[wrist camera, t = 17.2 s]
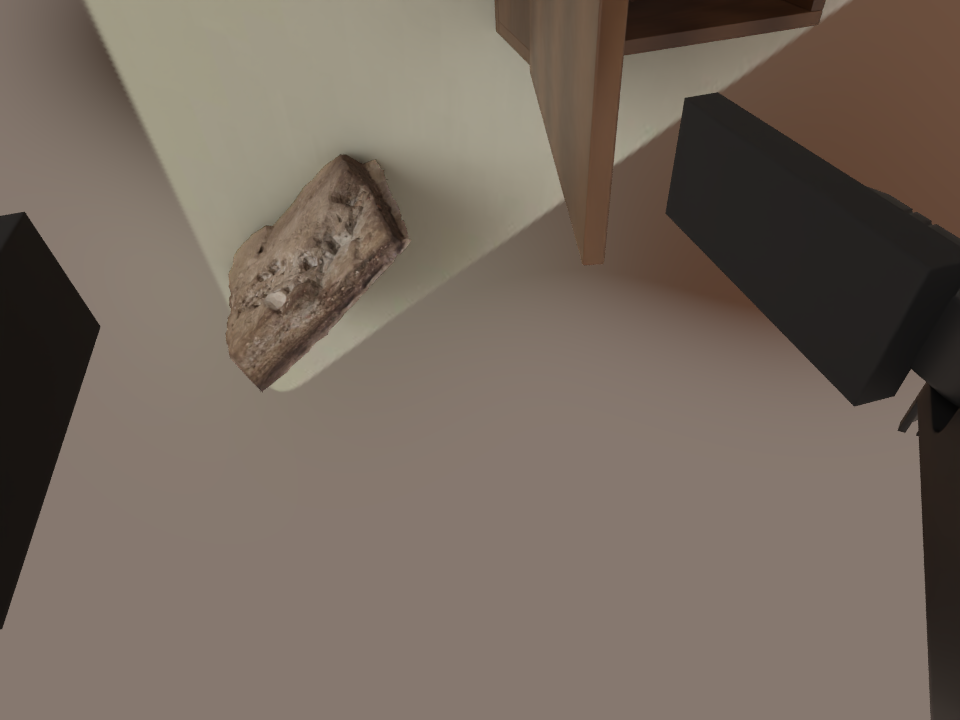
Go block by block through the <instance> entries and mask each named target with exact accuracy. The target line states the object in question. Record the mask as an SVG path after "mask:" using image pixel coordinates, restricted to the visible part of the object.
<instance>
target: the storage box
mask: <svg viewBox="0 0 960 720" xmlns="http://www.w3.org/2000/svg"><path fill="white" fill-rule="evenodd" d="M825 1H826V0H629V4H628V15H627V25H626V36H625V46H624V55H630V54H637V53H643V52H649V51H656V50H662V49H668V48H675V47H681V46H687V45H694V44H700V43H706V42H713V41H719V40H726V39H732V38H738V37H745V36H751V35H757V34H764V33H770V32H776V31H783V30H789V29H795V28H802V27H808V26H814V25H818V24H819V21H820V17H821V14H822V10H823V8H824V4H825ZM495 18H496V32H497V33H498V34H500V36H501V37H502V38H503V39H504V40H505V41H506V42H507V43H508V44H509V45H510V46H511V47H512V48H513V49H514V50H515V51H516V52H517V53H518V54H519V55H520V56H521V57H522V58H523V59H524V60H525V61H526V62H527V63H528V64H529V65H530V0H495Z"/></svg>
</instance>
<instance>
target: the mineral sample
mask: <svg viewBox="0 0 960 720" xmlns="http://www.w3.org/2000/svg"><path fill="white" fill-rule="evenodd" d="M386 180H388V179H385V176H384V170H382V169H380V165H378V164H377V162H376V159H375V160H372V161H369V162H367V163H364V164H362V163H360V162H358V161H356V160H354V159H352V158H351V157H349V156H347V155H343V154H340V155H339V156H338V157H336V158H335V159H334V160H332V161H331V162H329V163H328V164H326V165H325V166H324V167H323V168H322V169H321V170H320V171H319V173H318V174H317V175H316V176H315V178H314V179H313V180H312V181H311V182H309V183H308V184H307V185H306V186H304V188H303V189H302V191H301V192H300V194H299V195H298V197H297V198H296V200H295V201H294V203H293V204H292V205H291V206H290V207H289V208H288V209H287V211H286V212H285V213H284V214H283V215H282V216H281V217H280V218H279V219H278V221H277V222H276V223H275V224H274V226H264V227H263V228H262V229H260V230H259V231H257V232H255V233H253V234H252V235H251V237H250V238H249V239H248V240H247V241H246V242H245V243H244V244H243V245H242V246H241V247H240V248H239V249H238V251H237V252H236V254H235V256H234V261H233V267H232V269H231V270H230V272H229V288H230V291H231V296H230V297H229V302H230V303H229V306H230V308H231V314H230V315H229V317H228V322H227V328H228V330H227V332H226V342H227V344H228V348H229V355H230V358H231V359H232V361H233V362H234V363H235V364H236V365H237V366H238V367H239V368H240V369H241V370H242V371H243V372H244V374H245V375H246V376H247V377H248V378H249V379H250V380H251V381H252V382H253V383H254V384H255V385H256V386H257V387H258V388H259V389H260V390H261V391H262V392H263V390H264V389H266V388H267V387H269V386H270V385H271V384H273V383H274V382H275V381H276V380H277V379H278V378H280V377H281V376H282V375H284V374H285V373H286V372H288V370H289V369H290V367H291V366H292V365H293V364H295V363H296V362H297V361H298V360H299V359H301V358H302V357H303V356H304V355H305V354H306V353H307V352H309V350H310V349H311V348H312V346H313V345H314V344H315V343H316V342H317V341H319V340H320V339H322V338H323V337H325V336H326V335H328V332H329V330H330V329H331V328H332V327H333V326H334V325H335V324H336V323H337V322H338V321H339V320H340V319H341V318H342V316H343V315H344V314H345V313H346V312H347V311H348V310H349V309H350V308H351V307H352V306H353V305H354V304H355V303H356V302H357V300H358V299H359V298H360V296H361V295H363V294H364V293H365V292H366V291H367V290H368V289H369V287H370V286H371V285H372V284H373V283H374V282H375V281H376V279H377V278H378V277H379V276H380V275H381V274H382V273H383V272H384V271H385V270H386V269H387V268H388V267H389V266H390V265H391V264H392V263H393V262H394V261H395V260H394V259H395V258H396V255H397V254H401V253H402V252H403V251H404V250H405V248H406V247H407V246H408V244H409V243H410V242H411V239H408V233H407V228H406V225H405V222H404V220H402V221H401V214H400V209H399V207H398V205H397V202H396V199H394V200H393V197H392V194H391V192H390V190H389V187H388V185H387V182H386Z"/></svg>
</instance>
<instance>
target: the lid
mask: <svg viewBox="0 0 960 720" xmlns="http://www.w3.org/2000/svg"><path fill="white" fill-rule="evenodd" d="M628 4H629V0H530V74H531V78H532V81H533V85H534V89H535V92H536V96H537V100H538V103H539V107H540V111H541V114H542V118H543V122H544V125H545V129H546V133H547V136H548V140H549V144H550V147H551V151H552V155H553V158H554V162H555V166H556V169H557V173H558V176H559V180H560V184H561V187H562V191H563V195H564V198H565V202H566V206H567V209H568V213H569V217H570V220H571V224H572V228H573V231H574V235H575V239H576V242H577V246H578V250H579V253H580V257H581V260H582V264H583V265H595V264H603V263H604V258H605V247H606V236H607V225H608V215H609V204H610V194H611V184H612V173H613V163H614V152H615V141H616V131H617V120H618V110H619V99H620V89H621V78H622V68H623V57H624V46H625V36H626V25H627V15H628Z"/></svg>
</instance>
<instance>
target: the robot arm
mask: <svg viewBox="0 0 960 720" xmlns="http://www.w3.org/2000/svg"><path fill="white" fill-rule="evenodd" d="M666 214H667V215H668V216H669V217H670V218H671V219H672V220H673V221H674V223H675V224H676V225H677V226H678V227H680V229H681V230H682V231H683V232H684V233H685V234H686V235H687V236H688V237H689V238H690V239H691V240H692V241H693V242H694V243H695V244H696V245H697V246H698V247H699V248H700V249H701V250H702V251H703V252H704V253H705V254H706V255H707V256H708V257H709V258H710V259H711V260H712V261H713V262H714V263H715V264H716V266H718V268H720V270H722V272H723V273H724V274H725V275H726V276H728V278H729V279H730V280H731V281H732V282H733V283H734V284H735V285H736V286H737V287H738V288H739V289H740V290H741V291H742V292H743V293H744V294H745V295H746V296H747V297H748V298H749V299H750V300H751V301H752V302H753V303H754V304H755V305H756V306H757V307H758V308H759V309H760V311H761V312H763V314H764V315H765V316H766V317H767V318H768V319H769V320H770V321H771V322H772V323H773V324H774V325H775V326H777V328H778V329H779V330H780V331H781V332H782V333H783V334H784V335H785V336H786V337H787V338H788V339H789V340H790V341H791V342H792V343H793V344H794V345H795V346H796V347H797V348H798V349H799V350H800V351H801V353H803V354H804V356H805V357H806V358H807V359H808V360H809V361H810V362H811V363H812V364H813V365H814V366H815V367H816V368H817V369H818V370H819V371H820V372H821V373H822V374H823V375H824V376H825V377H826V378H827V379H828V380H829V381H830V382H831V383H832V384H833V385H834V386H835V387H836V388H837V389H838V390H839V391H840V392H841V393H842V394H843V395H844V396H845V398H847V400H848V401H849V402H850V403H851V404H853V406H858V405H862V404H866V403H870V402H873V401H877V400H881V399H885V398H889V397H892V396H895V394H896V392H897V391H898V389H899V387H900V386H901V384H902V383H903V381H904V379H905V378H906V376H907V374H908V373H909V371H910V370H911V369H912V370H913V371H914V372H916V373H917V374H918V375H919V376H920V377H921V378H923V379H924V380H925V381H926V383H925V385H924V386H923V388H922V389H921V391H920V393H919V394H918V396H917V397H916V399H915V400H914V402H913V403H912V405H911V406H910V408H909V410H908V411H907V413H906V414H905V416H904V417H903V419H902V420H901V422H900V425H899V428H898V431H901V432H906V431H907V429H908V428H909V426H910V425H911V423H912V422H914V421H916V420H918V428H919V429H918V430H919V431H918V432H917V434H916V436H919V451H920V452H919V453H920V477H921V499H922V500H921V501H922V524H923V547H924V569H925V571H924V572H925V594H926V619H927V642H928V665H929V689H930V713H931V720H960V238H958V237H956V236H955V235H953V234H952V233H950V232H948V231H946V230H945V229H944V228H942V227H940V226H939V225H937V224H935V225H932V224H931V220H929V219H928V218H926V217H924V216H923V215H921V214H920V213H918V212H915V213H913V212H912V209H911V208H910V207H908V206H907V205H905V204H904V203H902V202H900V201H899V200H897V199H896V198H894V197H892V196H891V195H889V194H886V193H883V192H881V191H878V190H875V189H872V188H869V187H866V186H864V185H863V184H861V183H860V182H858V181H856V180H855V179H853V178H851V177H850V176H848V175H847V174H845V173H843V172H842V171H840V170H839V169H837V168H836V167H834V166H833V165H831V164H830V163H828V162H826V161H825V160H823V159H822V158H820V157H819V156H817V155H815V154H814V153H812V152H811V151H809V150H807V149H806V148H804V147H803V146H801V145H800V144H798V143H796V142H795V141H793V140H792V139H790V138H789V137H787V136H785V135H784V134H782V133H781V132H779V131H778V130H776V129H774V128H773V127H771V126H770V125H768V124H767V123H765V122H763V121H762V120H760V119H759V118H757V117H756V116H754V115H752V114H751V113H749V112H748V111H746V110H744V109H743V108H741V107H740V106H738V105H737V104H735V103H734V102H732V101H730V100H728V99H727V98H726V97H724V96H722V95H721V94H719V93H718V92H717V93H711V94H706V95H700V96H694V97H688V98H685V100H684V106H683V112H682V118H681V124H680V130H679V136H678V142H677V148H676V154H675V160H674V166H673V172H672V178H671V184H670V190H669V196H668V202H667V208H666ZM99 330H100V325H99V324H98V322H97V321H96V319H95V318H94V316H93V315H92V313H91V311H90V310H89V308H88V307H87V305H86V304H85V302H84V301H83V299H82V298H81V296H80V295H79V293H78V292H77V290H76V289H75V287H74V286H73V284H72V283H71V281H70V280H69V278H68V277H67V275H66V274H65V272H64V271H63V269H62V268H61V266H60V265H59V263H58V262H57V260H56V258H55V257H54V255H53V254H52V252H51V251H50V249H49V248H48V246H47V245H46V243H45V242H44V241H43V239H42V237H41V236H40V234H39V233H38V231H37V230H36V228H35V227H34V225H33V224H32V222H31V221H30V219H29V218H28V216H27V215H26V213H25V212H21V213H15V214H10V215H3V216H0V629H2V628H3V625H4V621H5V618H6V615H7V612H8V609H9V606H10V603H11V600H12V597H13V594H14V591H15V588H16V585H17V582H18V578H19V575H20V572H21V569H22V566H23V563H24V560H25V557H26V554H27V551H28V548H29V545H30V541H31V539H32V535H33V532H34V529H35V526H36V523H37V520H38V517H39V514H40V511H41V508H42V505H43V502H44V498H45V496H46V492H47V489H48V486H49V483H50V480H51V477H52V474H53V471H54V468H55V464H56V462H57V459H58V456H59V452H60V449H61V446H62V443H63V440H64V437H65V434H66V431H67V427H68V425H69V422H70V418H71V416H72V412H73V409H74V406H75V403H76V400H77V397H78V394H79V391H80V388H81V385H82V382H83V378H84V376H85V373H86V369H87V366H88V363H89V360H90V357H91V354H92V351H93V348H94V345H95V342H96V339H97V336H98V333H99Z"/></svg>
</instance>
